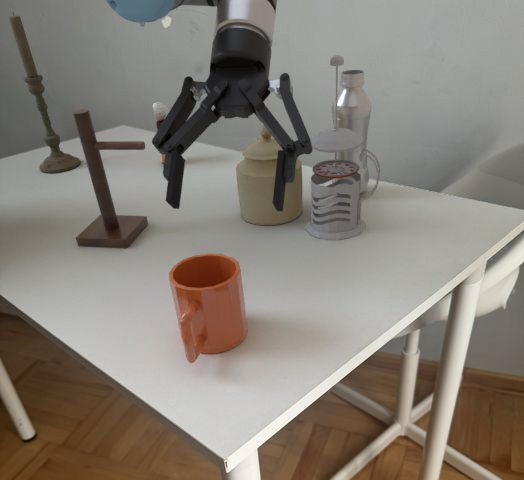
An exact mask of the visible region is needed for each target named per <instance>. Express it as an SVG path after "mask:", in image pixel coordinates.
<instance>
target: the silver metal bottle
mask: <svg viewBox="0 0 524 480" xmlns="http://www.w3.org/2000/svg"><path fill="white" fill-rule="evenodd" d="M365 84H366V83H365V70H362V69H347V70H343V71H341V72H340V82H339V85H340V87H341V89H340V91H339V92H337V128H343V129H349V130H352V131H353V132H355V133H357V134H358V135H360V136H362V137H363V143H362V145H361V146H359V147H358V148H356V149H354V150H351V151H346V152H337V159H338V160H339V159H340V160H341V159H342V160H349V161H352V162H355V163H356V164H358V165H359V170H358V173H359V174H360V175H361V182H360V194H363V193H364V192H365V191H366V189H368V187H369V181H370V172H369V166H368V157H367V156H365V155H364V154H363V159H362V161H360V154H361V151H362V150H363V149H367V145H368V141H367V140H368V132H369V125H370V120H371V113H372V102H371V99H370V97H369V95H368V94H367V93H366V91H365V89H364V87H363V86H364V85H365ZM331 116H332V123H333V124H332V125H333V128H335V127H336V97H335V98H334V100H333V101H332V105H331ZM363 153H366V154H367V153H368V152H367V151H364V152H363ZM367 155H368V154H367ZM333 160H335V158H334V159H333ZM341 179H348V180H350V181H352V182H354V183H356V181H355V180H354V179H353V178H352V177H350V176H349V177H345V178H334V179H332V180H331V184H332V183H334V182H336V181H338V180H341ZM347 185H350V184H347V183H343V184H338V185H336V186H334V187H341V186H347ZM347 195H348V194H347Z"/></svg>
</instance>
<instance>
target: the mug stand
mask: <svg viewBox="0 0 524 480" xmlns="http://www.w3.org/2000/svg"><path fill="white" fill-rule="evenodd" d="M72 117H73V119H74V124H75V127H76V131H77V135H78V137H79V141H80V144H81V148H82V151H83V156H84V159H85V162H86V167H87V169H88V173H89V177H90V180H91V183H92V187H93V191H94V195H95V199H96V203H97V205H98V208H99V212H100V214H99V215H98V216H97V217H96V218H95V219H94V220H93V221H92V222H91V223H90V224H89V225H88V226H86V227H85V228H84V229H83V230H82V231H81V232H80V233H79V234H78V235H77V236H76V237H75V240H76V243H77V247H96V248H97V247H98V248H116V249H117V248H118V249H127V248H129V246H130V245H131V244H132V243H133V242H134V241H135V240H136V239H137V238H138V237H139V235H140V234H141V233H142V232H143V231H144V230H145V228H146V227H148V225H149V221H148V216H147V215H123V214H122V215H121V214H117V212H116V208H115V205H114V201H113V197H112V193H111V189H110V185H109V181H108V178H107V174H106V170H105V166H104V162H103V159H102V155H101V151H144V150H145V149H146V143H145V142H144V141H143V140H142V141H141V140H138V141H136V140H135V141H134V140H133V141H131V140H130V141H127V140H126V141H125V140H123V141H122V140H121V141H117V140H115V141H109V140H108V141H101V140H100V141H98V139H97V136H96V132H95V128H94V124H93V119H92V116H91V111H90V109H87V108H81V109H76V110H74V111H72Z"/></svg>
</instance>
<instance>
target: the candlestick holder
mask: <svg viewBox="0 0 524 480" xmlns="http://www.w3.org/2000/svg"><path fill="white" fill-rule="evenodd" d="M8 20H9V24H10V27H11V31H12V33H13V36H14V39H15V43H16V47H17V50H18V52H19V56H20V59H21V62H22V65H23V68H24V72H25V74H26V76H25V77H23V81H24V83H26V84H27V85H28V87H27V90H28V92H29V94H31V95H33V96H34V97H35V103H36V109H37V111H38V112H39V114H40V116H41V120H42V124H43V126H44V128H45V135H44V136H43V141H44V143H45V144H46V146H47V147H49V149H50V154H49V156H47V157H45V159H44V160H43V162H42V163H40V165H39V170H40V171H41V172H42V173H45V174H57V173H64V172H68V171H71V170H73V169H75V168H77V167H79V166H80V165H81V160H80V158H79V157H77V156H74V155H72V154H70V153H65V152H63V151H62V150H61V147H60V144H61V136H60V134H59V133H56V132H55V131H54V129H53V127H52V122H51V121H52V120H51V119H50V116H49V112H48V104H47V103H46V101H45V98H44V96H43V94H44V92H45V91H46V88H45V86H44V84H43V83H42V82H43V79H44V76H43V75H42V74H39V73H38V70H37V68H36V64H35V60H34V58H33V54H32V50H31V48H30V44H29V41H28V38H27V35H26V34H27V33H26V31H25V28H24V25H23V22H22V18H21V16H20V15H15V11H12V16H9V17H8Z"/></svg>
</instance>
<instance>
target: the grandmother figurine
mask: <svg viewBox="0 0 524 480" xmlns="http://www.w3.org/2000/svg"><path fill="white" fill-rule="evenodd" d="M152 110H153V117H154V119H155V120H157V121H156V129H157V130H158V129H159V128H160V126H161V125H162V123H163V121H164V120H165V118H166V116H167V115H168V113H169V111H170V109H169V108H168V107H167V105H166V104H165V103H163V102H160V101H156V102H154V103H153V104H152ZM164 159H165V154H161V153H160V152H159V161H160V163H161V164H164Z"/></svg>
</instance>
